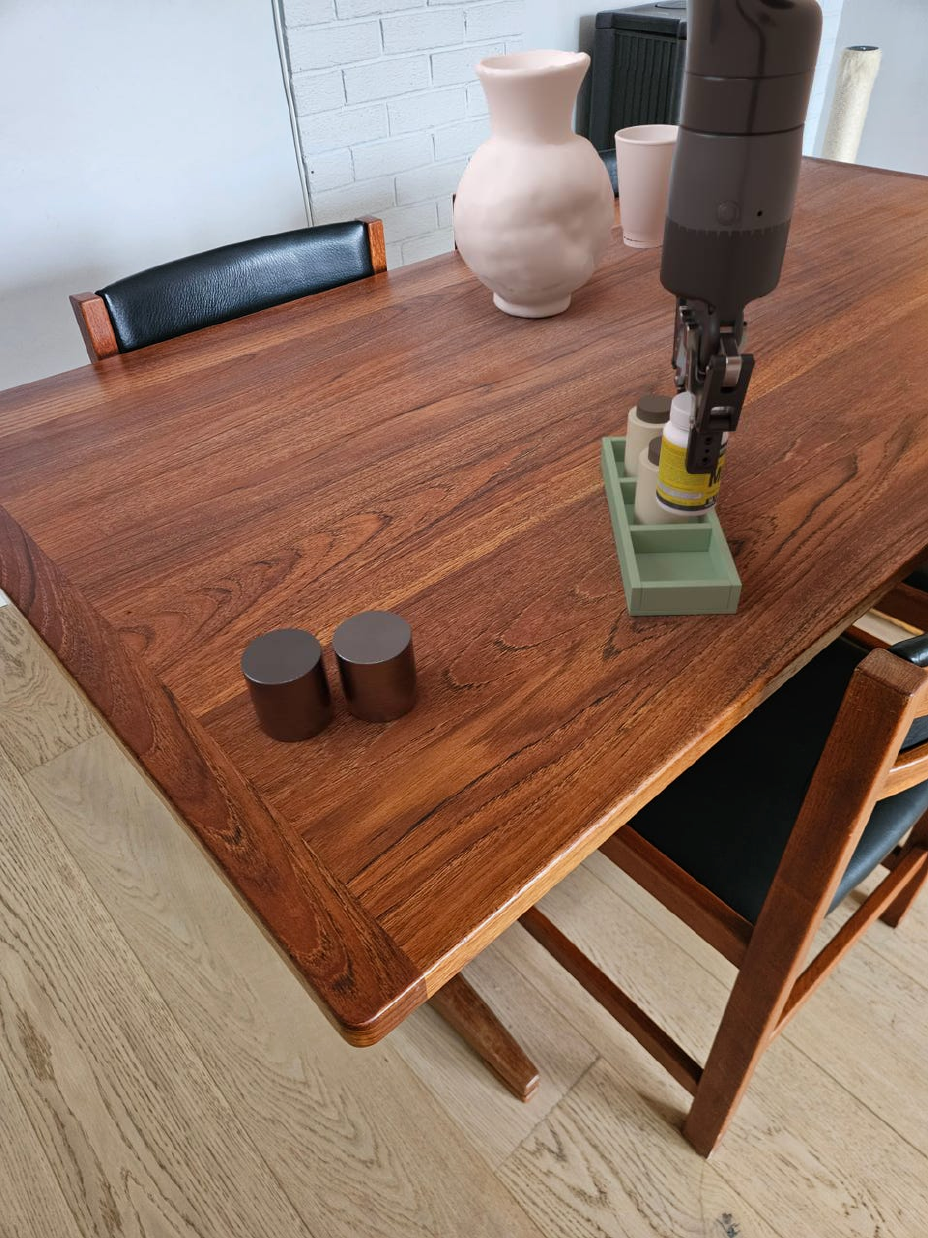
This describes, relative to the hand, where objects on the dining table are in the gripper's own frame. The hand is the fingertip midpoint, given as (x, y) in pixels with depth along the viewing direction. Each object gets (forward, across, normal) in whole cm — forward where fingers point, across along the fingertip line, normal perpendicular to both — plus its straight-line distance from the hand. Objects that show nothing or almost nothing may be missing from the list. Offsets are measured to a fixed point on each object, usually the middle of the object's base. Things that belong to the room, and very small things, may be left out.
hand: (693, 451), depth 62 cm
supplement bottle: (+5, 0, 0) cm, 5 cm away
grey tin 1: (+13, -14, +30) cm, 35 cm away
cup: (+13, +91, -10) cm, 92 cm away
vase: (+13, +64, +10) cm, 66 cm away
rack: (+13, +8, 0) cm, 15 cm away
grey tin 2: (+13, -12, +24) cm, 30 cm away
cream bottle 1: (+12, +16, 0) cm, 20 cm away
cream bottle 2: (+12, +8, 0) cm, 14 cm away
